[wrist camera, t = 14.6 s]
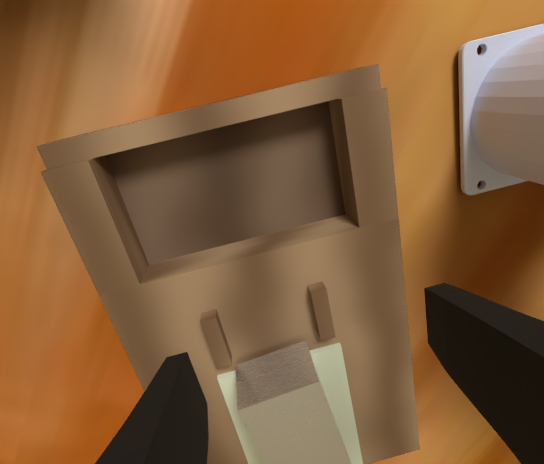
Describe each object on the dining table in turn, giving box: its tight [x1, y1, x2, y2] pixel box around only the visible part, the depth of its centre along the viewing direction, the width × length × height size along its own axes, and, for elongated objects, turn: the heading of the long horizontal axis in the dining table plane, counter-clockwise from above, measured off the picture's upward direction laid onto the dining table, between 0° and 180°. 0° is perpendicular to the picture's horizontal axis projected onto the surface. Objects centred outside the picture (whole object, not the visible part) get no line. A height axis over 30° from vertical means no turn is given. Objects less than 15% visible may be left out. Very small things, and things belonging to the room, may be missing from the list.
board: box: [37, 64, 420, 464], centre depth 20 cm, size 15×24×4 cm, turn 13°
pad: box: [217, 343, 363, 464], centre depth 22 cm, size 7×10×1 cm
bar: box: [236, 340, 352, 464], centre depth 20 cm, size 4×11×3 cm, turn 19°
